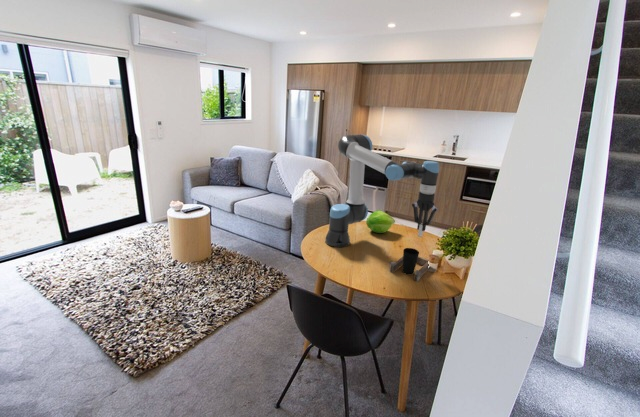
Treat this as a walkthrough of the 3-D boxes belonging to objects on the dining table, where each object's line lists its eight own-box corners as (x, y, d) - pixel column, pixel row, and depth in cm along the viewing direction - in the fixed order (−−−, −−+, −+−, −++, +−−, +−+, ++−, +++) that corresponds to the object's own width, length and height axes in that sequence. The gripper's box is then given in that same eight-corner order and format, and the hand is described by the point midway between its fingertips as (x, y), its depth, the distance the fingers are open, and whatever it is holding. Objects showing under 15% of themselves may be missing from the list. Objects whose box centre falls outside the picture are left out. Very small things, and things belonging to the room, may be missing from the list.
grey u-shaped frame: (389, 271, 160) (390, 262, 159) (405, 258, 176) (406, 250, 174) (417, 281, 152) (419, 272, 150) (431, 267, 167) (433, 258, 166)
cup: (413, 277, 155) (416, 255, 152) (398, 272, 159) (401, 251, 156) (417, 271, 162) (420, 250, 158) (403, 267, 166) (406, 246, 162)
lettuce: (398, 235, 209) (399, 218, 201) (369, 239, 207) (369, 222, 200) (390, 222, 221) (392, 206, 213) (363, 226, 219) (363, 210, 212)
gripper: (411, 191, 156) (405, 234, 163) (437, 196, 148) (430, 241, 156) (417, 188, 162) (411, 230, 169) (442, 193, 154) (434, 237, 161)
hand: (420, 236), depth 162 cm, fingers closed
